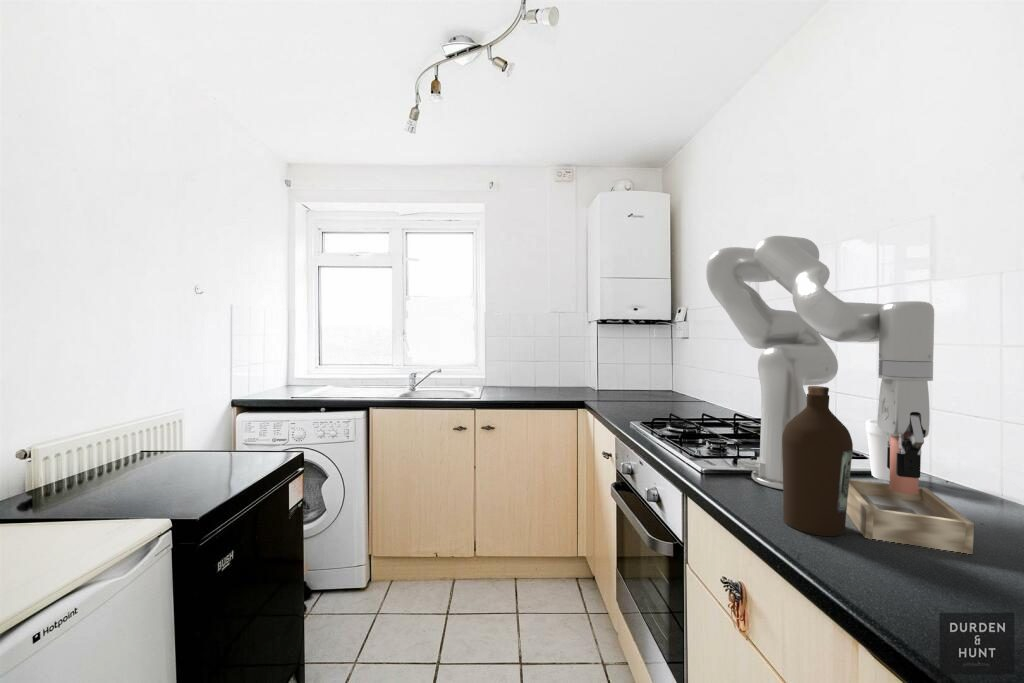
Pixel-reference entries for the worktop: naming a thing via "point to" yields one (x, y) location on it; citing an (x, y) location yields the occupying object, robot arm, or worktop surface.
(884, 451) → the foam cup
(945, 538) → the box
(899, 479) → the peg
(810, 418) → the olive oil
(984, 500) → the worktop surface
